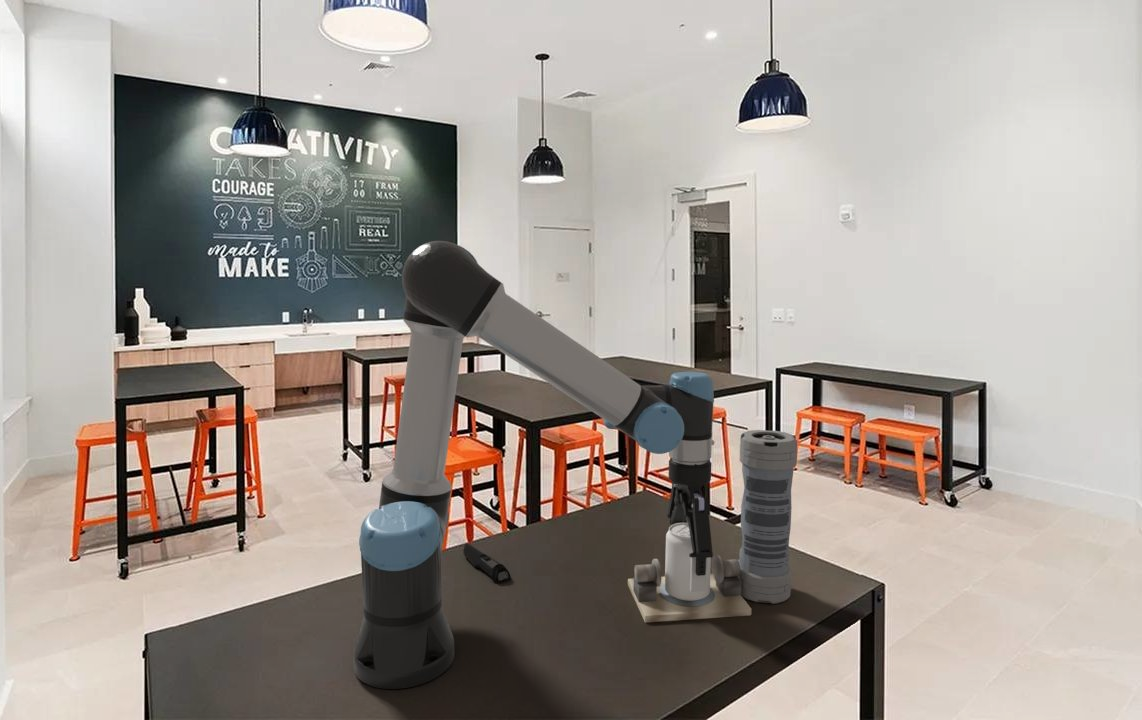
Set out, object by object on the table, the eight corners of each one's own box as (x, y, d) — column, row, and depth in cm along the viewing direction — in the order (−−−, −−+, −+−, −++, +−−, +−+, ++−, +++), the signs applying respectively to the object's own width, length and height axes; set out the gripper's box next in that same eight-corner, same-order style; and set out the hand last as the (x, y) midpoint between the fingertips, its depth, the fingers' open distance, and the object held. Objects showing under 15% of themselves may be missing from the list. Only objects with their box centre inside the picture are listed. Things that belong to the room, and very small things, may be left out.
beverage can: (718, 592, 122) (720, 529, 120) (693, 608, 116) (695, 542, 115) (681, 578, 128) (682, 518, 126) (655, 592, 122) (657, 529, 120)
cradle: (645, 622, 114) (645, 578, 113) (627, 584, 128) (628, 545, 127) (751, 615, 117) (752, 572, 116) (723, 578, 130) (724, 540, 129)
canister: (793, 607, 119) (801, 444, 115) (736, 602, 121) (741, 441, 117) (787, 582, 129) (794, 430, 125) (733, 577, 131) (739, 428, 127)
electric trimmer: (475, 554, 143) (475, 540, 142) (512, 581, 130) (512, 565, 130) (459, 559, 141) (459, 544, 140) (495, 586, 128) (495, 570, 128)
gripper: (735, 479, 107) (731, 605, 110) (689, 441, 131) (687, 546, 134) (690, 481, 106) (687, 608, 109) (652, 442, 130) (650, 548, 133)
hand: (687, 574), depth 122 cm, fingers open, 12 cm apart
